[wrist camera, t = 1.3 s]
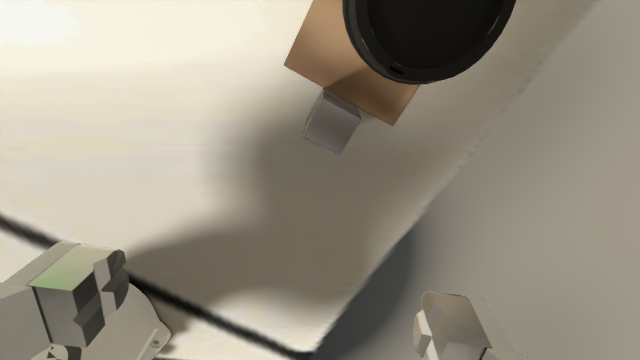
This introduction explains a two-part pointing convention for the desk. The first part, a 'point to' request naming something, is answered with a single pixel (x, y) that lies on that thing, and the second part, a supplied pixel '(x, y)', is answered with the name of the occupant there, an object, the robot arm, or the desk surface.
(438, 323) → the robot arm
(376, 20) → the coffee cup
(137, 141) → the desk surface
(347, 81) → the walnut strip
